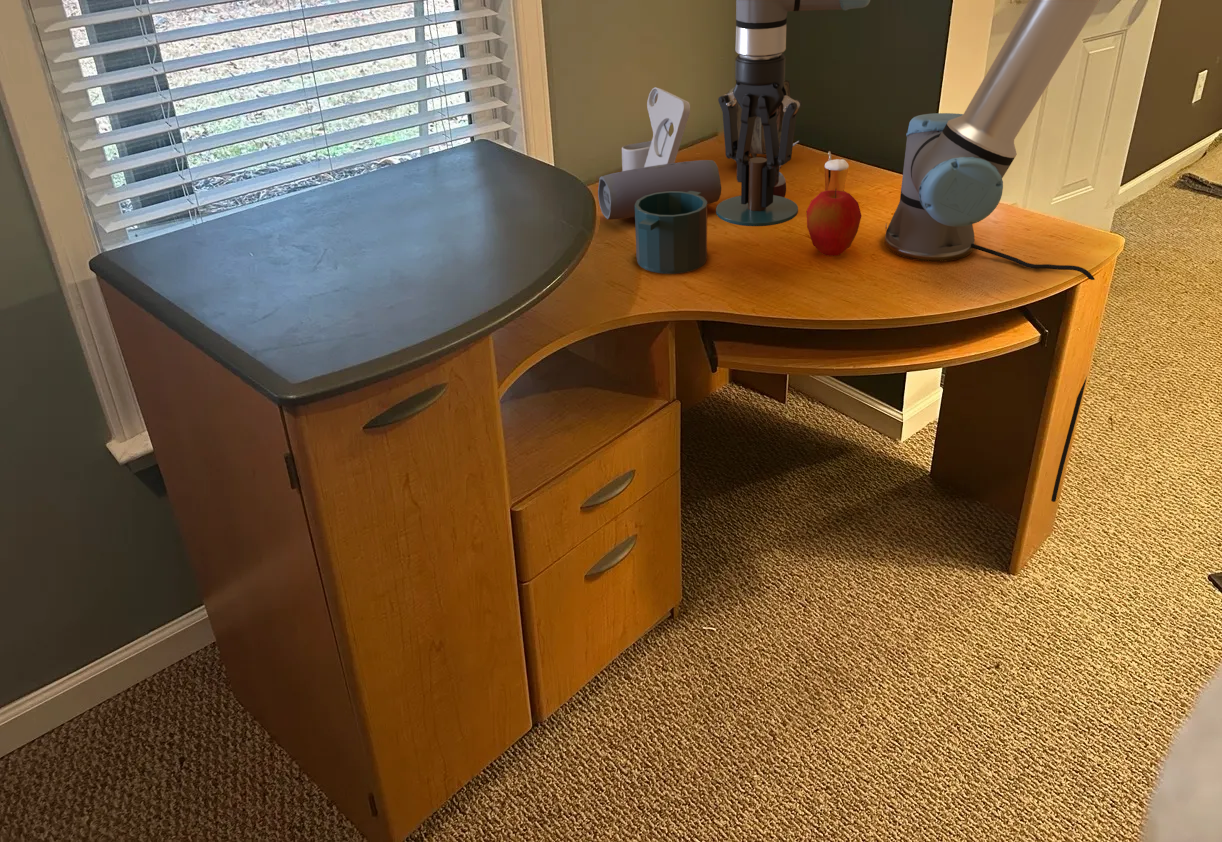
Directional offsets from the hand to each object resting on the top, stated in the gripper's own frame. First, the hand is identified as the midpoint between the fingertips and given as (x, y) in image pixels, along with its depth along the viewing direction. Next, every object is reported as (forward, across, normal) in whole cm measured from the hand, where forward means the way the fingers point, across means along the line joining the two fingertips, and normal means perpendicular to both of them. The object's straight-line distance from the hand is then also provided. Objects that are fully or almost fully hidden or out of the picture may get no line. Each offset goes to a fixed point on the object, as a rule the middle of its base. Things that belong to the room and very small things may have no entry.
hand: (757, 202), depth 161 cm
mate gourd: (+13, +10, -28) cm, 33 cm away
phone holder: (+13, +40, -35) cm, 55 cm away
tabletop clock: (+13, +26, -55) cm, 62 cm away
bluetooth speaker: (+13, +29, -18) cm, 37 cm away
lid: (+1, 0, 0) cm, 1 cm away
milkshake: (+13, +1, -38) cm, 40 cm away
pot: (+13, +16, 0) cm, 21 cm away
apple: (+13, -8, -15) cm, 21 cm away
